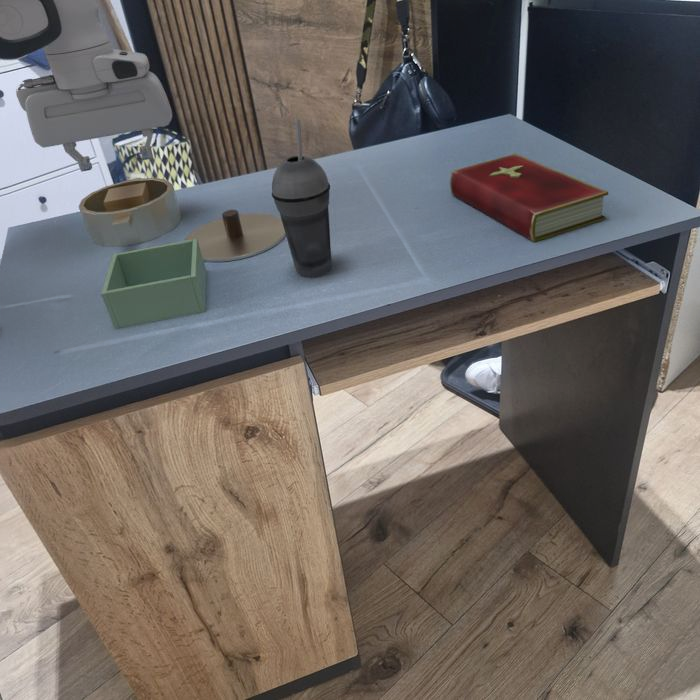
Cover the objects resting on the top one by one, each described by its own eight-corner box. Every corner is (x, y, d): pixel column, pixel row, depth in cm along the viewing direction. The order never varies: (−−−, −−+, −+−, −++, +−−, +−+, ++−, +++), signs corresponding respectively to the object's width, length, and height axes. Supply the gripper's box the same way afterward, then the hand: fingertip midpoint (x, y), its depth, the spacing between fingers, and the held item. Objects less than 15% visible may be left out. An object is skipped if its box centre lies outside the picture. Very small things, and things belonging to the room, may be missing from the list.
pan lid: (183, 274, 90) (174, 244, 87) (186, 230, 102) (178, 203, 100) (292, 253, 91) (287, 223, 88) (282, 212, 104) (277, 185, 101)
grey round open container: (82, 264, 96) (68, 227, 93) (101, 215, 113) (89, 182, 109) (179, 246, 98) (168, 209, 94) (184, 200, 114) (174, 167, 111)
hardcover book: (531, 243, 85) (533, 213, 82) (450, 195, 101) (449, 169, 99) (605, 219, 88) (608, 190, 86) (514, 177, 104) (515, 151, 102)
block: (116, 237, 102) (103, 202, 99) (120, 223, 107) (108, 188, 104) (153, 230, 103) (142, 195, 99) (156, 216, 108) (145, 182, 104)
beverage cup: (304, 257, 89) (278, 110, 78) (351, 263, 86) (331, 110, 75) (277, 282, 84) (245, 129, 73) (326, 289, 81) (300, 130, 70)
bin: (116, 332, 78) (100, 294, 75) (125, 290, 88) (112, 253, 85) (206, 315, 79) (195, 276, 76) (207, 274, 89) (197, 238, 85)
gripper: (5, 86, 88) (45, 183, 96) (153, 60, 89) (181, 158, 97) (16, 77, 93) (54, 170, 101) (157, 53, 94) (183, 146, 102)
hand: (117, 164), depth 99 cm, fingers open, 8 cm apart
